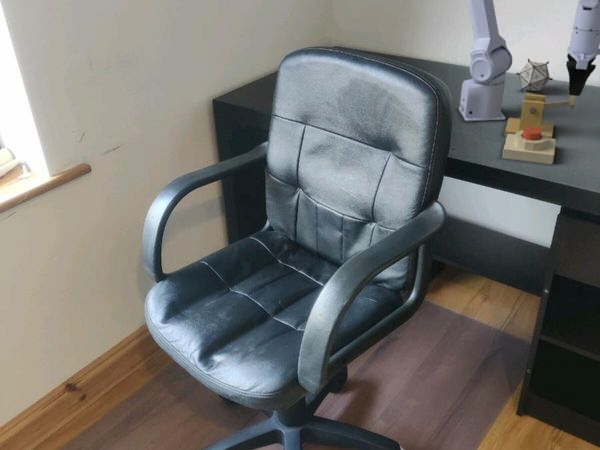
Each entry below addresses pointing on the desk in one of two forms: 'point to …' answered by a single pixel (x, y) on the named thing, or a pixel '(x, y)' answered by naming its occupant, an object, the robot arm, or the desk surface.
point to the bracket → (530, 117)
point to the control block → (529, 148)
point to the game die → (534, 76)
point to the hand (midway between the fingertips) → (574, 91)
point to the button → (531, 133)
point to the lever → (559, 103)
